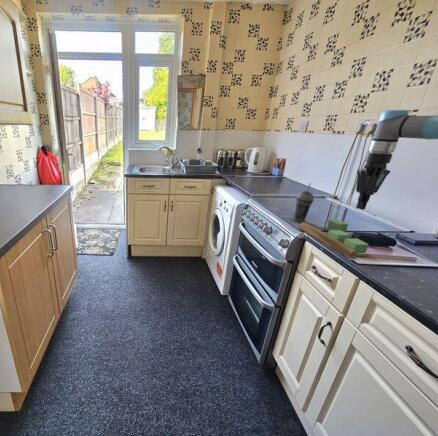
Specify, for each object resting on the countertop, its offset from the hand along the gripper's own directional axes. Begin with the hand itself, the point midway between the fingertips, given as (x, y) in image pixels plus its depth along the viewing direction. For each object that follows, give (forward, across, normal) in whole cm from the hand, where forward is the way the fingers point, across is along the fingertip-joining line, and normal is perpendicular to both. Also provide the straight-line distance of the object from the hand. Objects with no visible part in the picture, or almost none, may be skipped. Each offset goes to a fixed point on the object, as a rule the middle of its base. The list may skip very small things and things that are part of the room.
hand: (360, 208), depth 106 cm
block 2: (+12, +15, +16) cm, 25 cm away
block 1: (+12, +5, -3) cm, 14 cm away
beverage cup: (+13, +13, -17) cm, 25 cm away
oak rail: (+12, +18, +6) cm, 23 cm away
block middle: (+12, +15, +8) cm, 21 cm away
